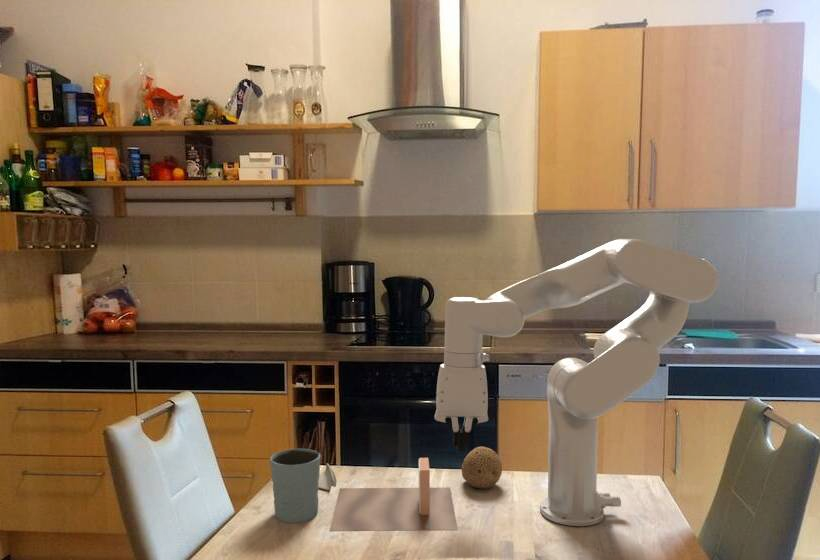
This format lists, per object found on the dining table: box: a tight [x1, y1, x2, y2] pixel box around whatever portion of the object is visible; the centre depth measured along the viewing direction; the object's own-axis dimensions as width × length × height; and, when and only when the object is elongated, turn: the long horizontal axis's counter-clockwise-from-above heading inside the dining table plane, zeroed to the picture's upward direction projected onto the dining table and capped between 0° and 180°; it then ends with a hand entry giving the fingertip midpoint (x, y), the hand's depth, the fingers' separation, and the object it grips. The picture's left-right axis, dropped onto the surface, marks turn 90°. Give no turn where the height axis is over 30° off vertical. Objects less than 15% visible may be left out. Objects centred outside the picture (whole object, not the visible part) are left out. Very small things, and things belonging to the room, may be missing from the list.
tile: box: [418, 457, 431, 515], centre depth 129 cm, size 2×7×9 cm, turn 1°
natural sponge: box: [461, 446, 503, 490], centre depth 140 cm, size 9×9×10 cm
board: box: [329, 486, 459, 532], centre depth 130 cm, size 24×20×2 cm
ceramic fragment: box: [318, 463, 338, 492], centre depth 146 cm, size 14×5×4 cm, turn 14°
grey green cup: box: [269, 448, 321, 524], centre depth 130 cm, size 10×10×12 cm
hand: (460, 449), depth 129 cm, fingers closed
